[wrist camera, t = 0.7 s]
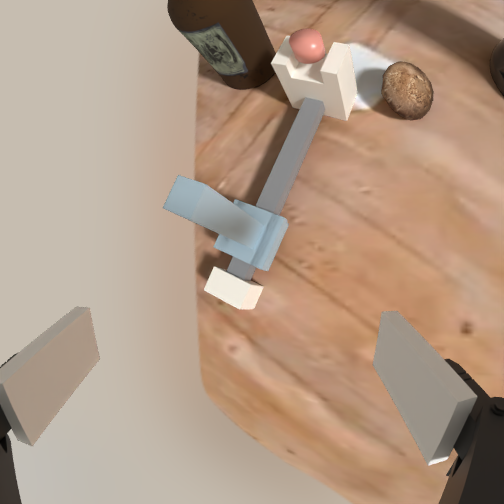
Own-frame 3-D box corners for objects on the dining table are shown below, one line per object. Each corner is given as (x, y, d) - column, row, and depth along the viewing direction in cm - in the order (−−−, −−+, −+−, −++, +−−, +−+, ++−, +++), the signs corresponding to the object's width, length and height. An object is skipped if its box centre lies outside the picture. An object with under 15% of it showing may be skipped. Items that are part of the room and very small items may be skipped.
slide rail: (305, 81, 41) (286, 35, 32) (357, 93, 38) (349, 44, 29) (211, 286, 41) (166, 280, 32) (264, 314, 38) (229, 317, 29)
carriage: (246, 207, 40) (170, 151, 24) (292, 225, 37) (235, 171, 22) (226, 252, 40) (139, 219, 24) (271, 272, 37) (200, 249, 22)
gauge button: (301, 41, 31) (295, 27, 29) (329, 45, 30) (325, 30, 28) (290, 61, 31) (284, 47, 29) (319, 66, 30) (315, 51, 28)
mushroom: (358, 77, 35) (385, 59, 29) (397, 68, 36) (424, 53, 30) (384, 131, 37) (414, 121, 31) (420, 117, 38) (450, 108, 32)
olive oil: (237, 44, 47) (164, -59, 24) (292, 49, 43) (230, -76, 20) (210, 89, 47) (116, -13, 24) (266, 97, 43) (180, -31, 20)
